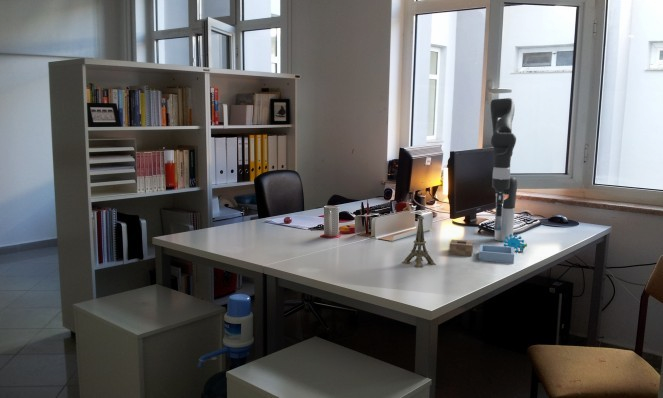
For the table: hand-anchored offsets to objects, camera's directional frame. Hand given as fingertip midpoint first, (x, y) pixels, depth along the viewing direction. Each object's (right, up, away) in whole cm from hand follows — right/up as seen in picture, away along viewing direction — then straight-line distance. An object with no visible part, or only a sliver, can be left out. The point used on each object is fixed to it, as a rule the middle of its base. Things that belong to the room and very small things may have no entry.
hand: (498, 215), depth 258 cm
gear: (+13, -18, +18) cm, 28 cm away
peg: (0, -7, +1) cm, 7 cm away
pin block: (-15, -18, +11) cm, 26 cm away
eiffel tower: (-38, -21, -10) cm, 44 cm away
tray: (0, -19, +3) cm, 20 cm away
